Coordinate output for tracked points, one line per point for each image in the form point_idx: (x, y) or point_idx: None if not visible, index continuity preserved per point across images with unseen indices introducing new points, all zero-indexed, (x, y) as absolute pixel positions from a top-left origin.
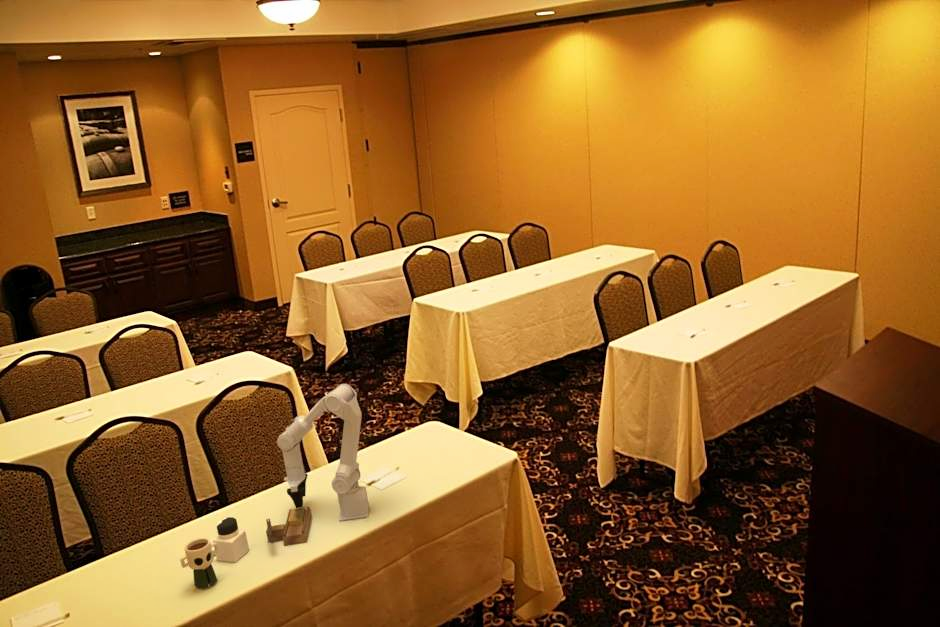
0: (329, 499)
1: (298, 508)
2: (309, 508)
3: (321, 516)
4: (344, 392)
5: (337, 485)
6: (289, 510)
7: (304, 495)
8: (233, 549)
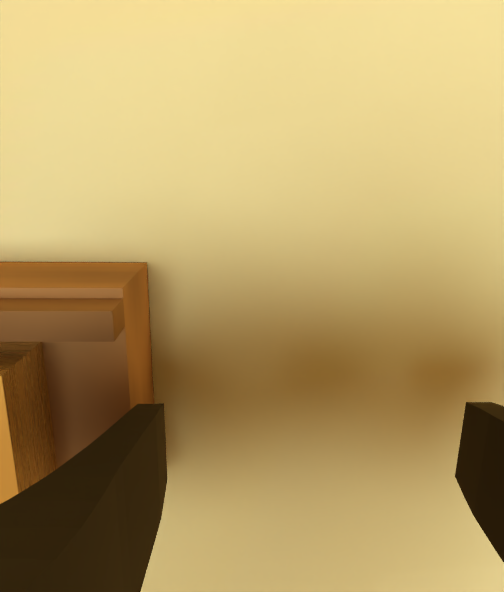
0: (462, 577)
1: (2, 478)
2: None
3: None
4: None
5: None
6: (80, 314)
7: (462, 480)
8: None
